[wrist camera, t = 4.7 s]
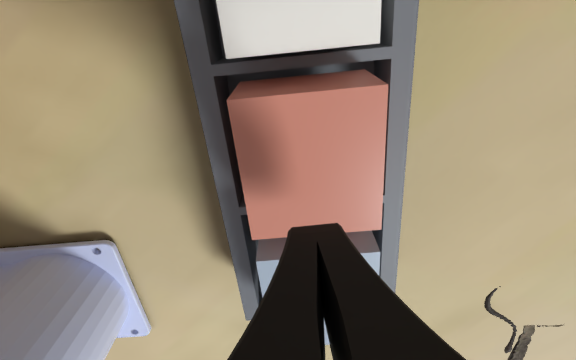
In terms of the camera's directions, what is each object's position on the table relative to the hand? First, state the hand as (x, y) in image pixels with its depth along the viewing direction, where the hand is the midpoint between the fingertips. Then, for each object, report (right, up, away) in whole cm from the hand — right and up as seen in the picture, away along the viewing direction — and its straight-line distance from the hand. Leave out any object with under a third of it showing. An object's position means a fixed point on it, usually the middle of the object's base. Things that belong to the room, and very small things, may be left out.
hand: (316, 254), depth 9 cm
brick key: (0, +4, +4) cm, 5 cm away
